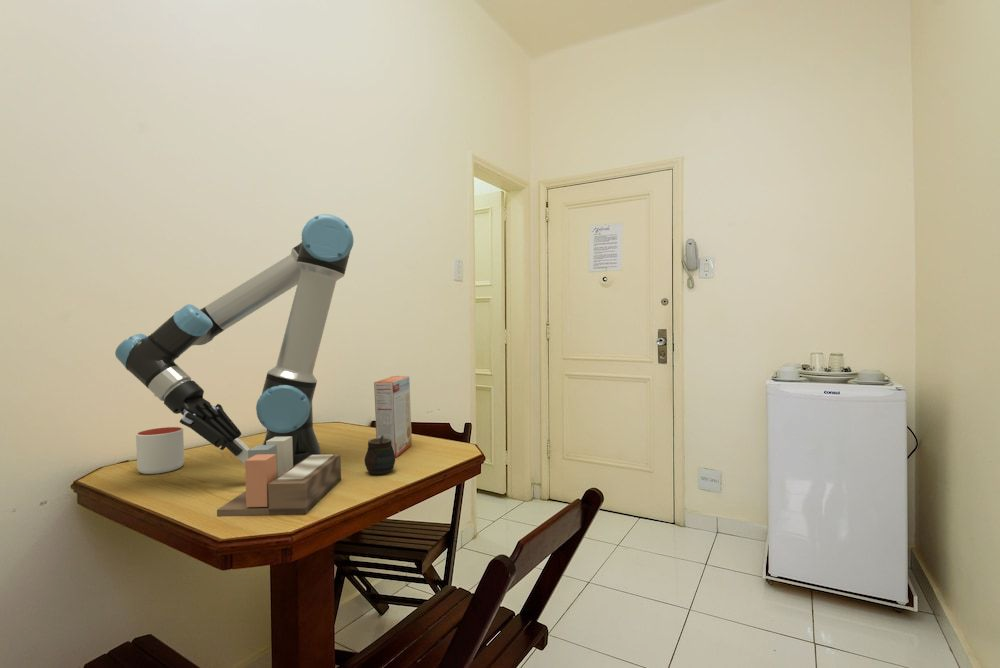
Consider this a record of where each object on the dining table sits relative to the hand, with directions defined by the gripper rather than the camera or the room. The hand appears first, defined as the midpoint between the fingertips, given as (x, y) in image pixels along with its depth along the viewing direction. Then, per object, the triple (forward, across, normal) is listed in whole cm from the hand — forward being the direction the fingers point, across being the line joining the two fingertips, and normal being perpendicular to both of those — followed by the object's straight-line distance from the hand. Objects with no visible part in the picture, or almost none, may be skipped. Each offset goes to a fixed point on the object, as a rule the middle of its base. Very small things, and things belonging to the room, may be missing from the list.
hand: (253, 462), depth 114 cm
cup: (-18, -14, -26) cm, 34 cm away
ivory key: (+7, 0, +2) cm, 7 cm away
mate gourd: (+23, -8, +15) cm, 29 cm away
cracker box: (+22, -28, +14) cm, 39 cm away
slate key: (+7, +8, +2) cm, 11 cm away
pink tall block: (+10, +16, +4) cm, 19 cm away
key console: (+11, +8, +4) cm, 14 cm away
